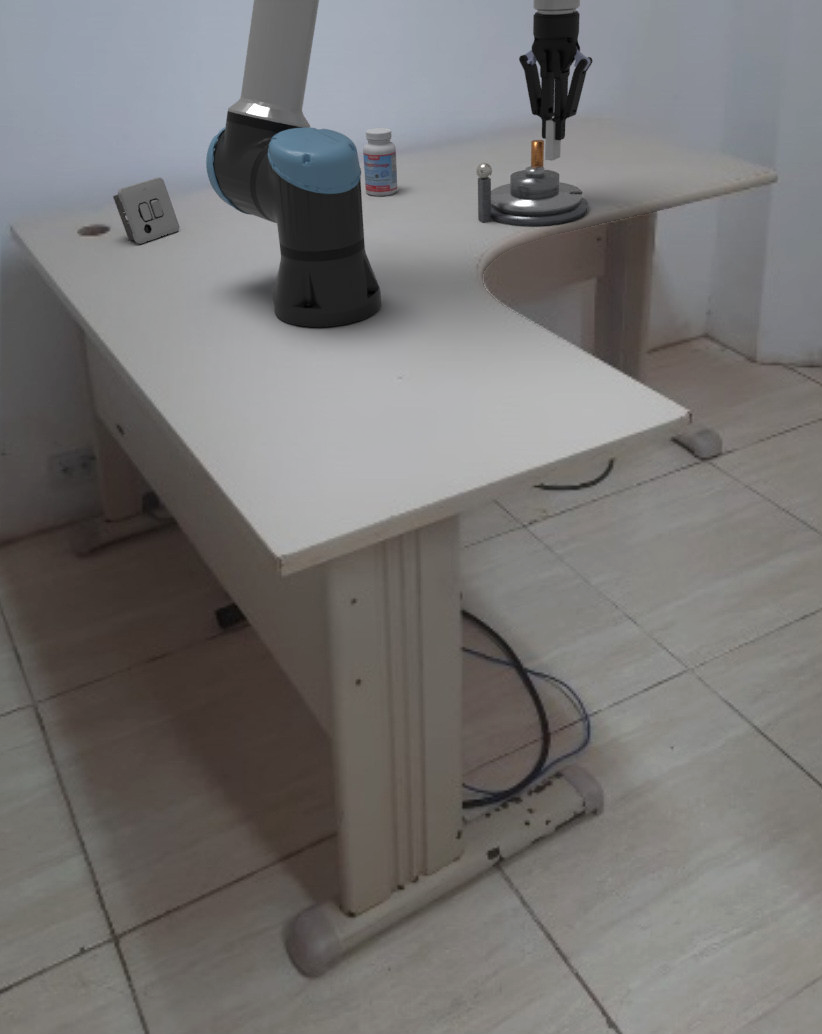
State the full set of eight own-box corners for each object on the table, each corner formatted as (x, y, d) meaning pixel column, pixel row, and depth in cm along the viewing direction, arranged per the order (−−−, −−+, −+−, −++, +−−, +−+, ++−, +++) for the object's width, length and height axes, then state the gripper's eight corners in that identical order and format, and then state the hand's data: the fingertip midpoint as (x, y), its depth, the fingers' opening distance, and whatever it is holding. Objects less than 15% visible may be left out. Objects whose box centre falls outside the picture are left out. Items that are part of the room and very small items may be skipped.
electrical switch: (139, 246, 179) (125, 190, 174) (120, 244, 182) (106, 189, 177) (181, 231, 185) (169, 177, 180) (162, 229, 188) (150, 176, 184)
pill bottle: (361, 196, 198) (357, 134, 192) (371, 187, 203) (367, 126, 197) (392, 197, 197) (388, 134, 191) (402, 188, 202) (398, 127, 196)
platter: (581, 187, 191) (583, 139, 186) (582, 215, 177) (584, 162, 172) (492, 188, 193) (492, 140, 188) (486, 215, 179) (485, 164, 174)
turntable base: (608, 214, 182) (608, 207, 181) (518, 232, 175) (518, 225, 174) (550, 190, 195) (550, 184, 195) (465, 207, 189) (465, 200, 188)
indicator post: (495, 221, 181) (494, 163, 176) (481, 224, 180) (481, 165, 175) (487, 217, 183) (487, 160, 178) (474, 220, 182) (473, 162, 177)
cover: (559, 186, 187) (560, 161, 184) (558, 199, 180) (559, 174, 177) (511, 186, 188) (511, 162, 186) (509, 200, 181) (509, 175, 179)
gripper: (603, 8, 172) (596, 157, 185) (533, 6, 179) (531, 150, 192) (581, 15, 167) (575, 167, 180) (510, 12, 174) (509, 159, 187)
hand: (552, 158), depth 186 cm, fingers closed
